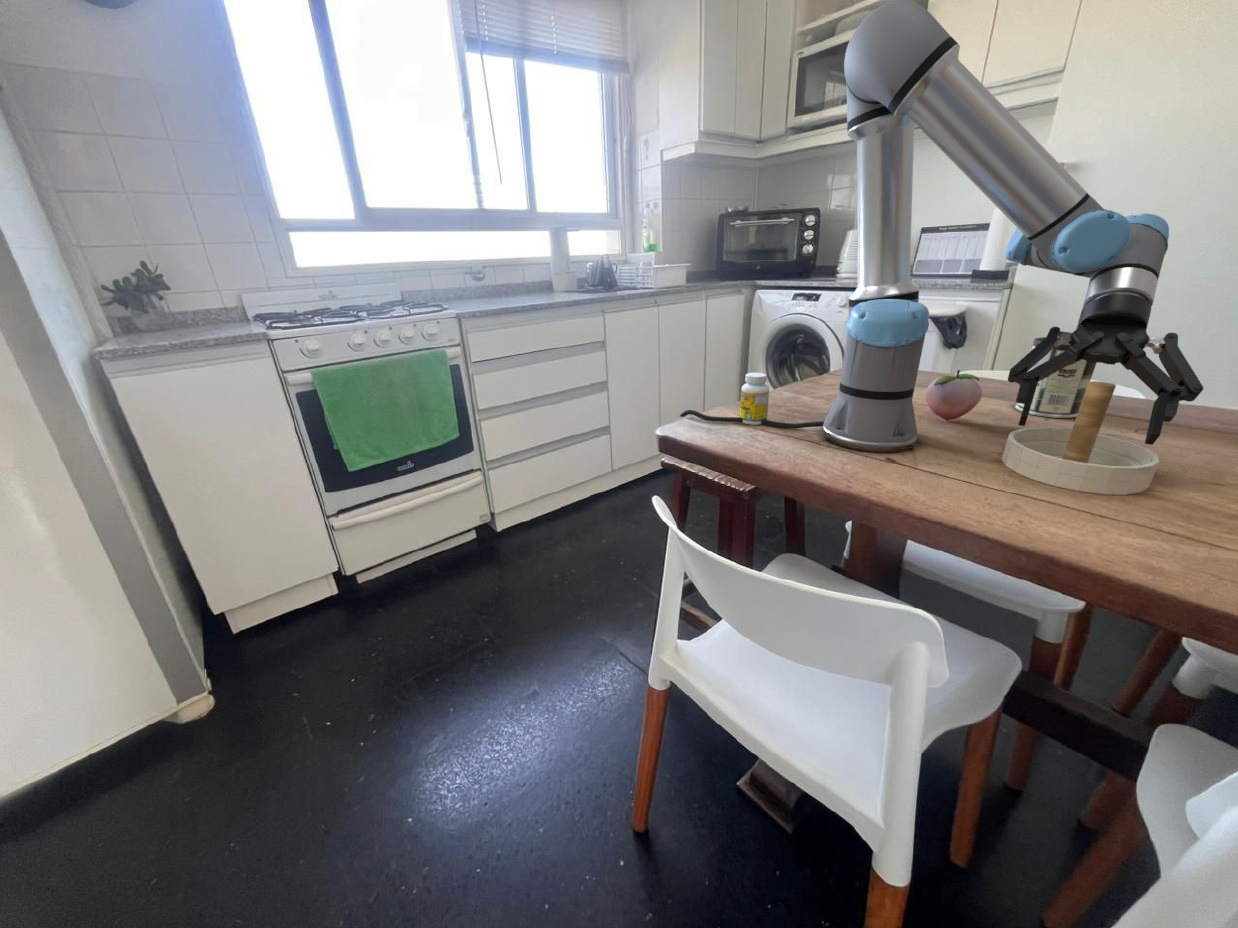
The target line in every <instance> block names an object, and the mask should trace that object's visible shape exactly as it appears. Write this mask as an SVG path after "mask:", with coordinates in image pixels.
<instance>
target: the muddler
mask: <svg viewBox="0 0 1238 928" xmlns="http://www.w3.org/2000/svg"><path fill="white" fill-rule="evenodd" d="M1116 387H1117V385H1116V384H1115V383H1112V382H1106V381H1094V380H1093V381H1090V382H1088V385H1087V388H1086V391H1085V394H1084V397H1083V400H1082V402H1081V405H1080V408H1079V411H1078V414H1077V417H1075V420H1074V423H1073V426H1072V429H1071V430H1072V431H1071V434H1070V437H1069V440H1068V443H1067V446H1066V449H1065V452H1064V455H1063V458H1061V459H1066V460H1071V461H1077V462H1082V463H1088V460H1089V458H1090V455H1091V452H1092V449H1093V447H1094V444H1095V441H1096V439H1097V436H1098V434H1100V430H1101V428H1102V425H1103V422H1104V419H1105V416H1106V414H1107V411H1108V408H1109V407H1110V403H1111V400H1112V398H1113V395H1114V392H1115V389H1116ZM1088 464H1090V463H1088Z"/></svg>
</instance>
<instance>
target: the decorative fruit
mask: <svg viewBox="0 0 1238 928" xmlns="http://www.w3.org/2000/svg"><path fill="white" fill-rule="evenodd" d="M980 380H981V379H980V378H979V377H978V376H976V375H974V374H970V373H960V369H958V370H957V371H956V374H950V375H949V374H948V375H943V376H940V377H937V378H936V379H934V380H933V381H931V382H930V384H929V385H928V387H927V388H926V392H925V401H926V404H927V406H928V408H929V409H930V411H931V412H932V413H933V414H934V415H936V416H937V417H939V418H941V419H943V420H944V421H952V420H955V419H958V418H961V417H962V416H963V417H964V415H966V414H968V413H969V412H971V411H972V410H973V409H974V408H976V406H977V405H978V404H979V403H980V402H981V399H982V397H983V389H982V387H981V385H980V384H979V383H978V382H980ZM977 381H978V382H977Z"/></svg>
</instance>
